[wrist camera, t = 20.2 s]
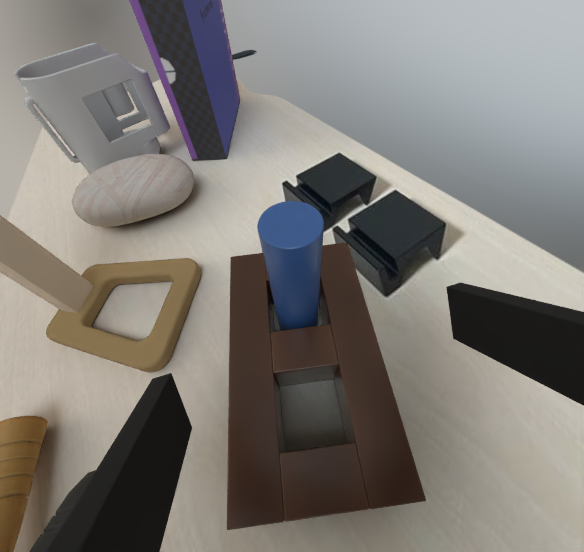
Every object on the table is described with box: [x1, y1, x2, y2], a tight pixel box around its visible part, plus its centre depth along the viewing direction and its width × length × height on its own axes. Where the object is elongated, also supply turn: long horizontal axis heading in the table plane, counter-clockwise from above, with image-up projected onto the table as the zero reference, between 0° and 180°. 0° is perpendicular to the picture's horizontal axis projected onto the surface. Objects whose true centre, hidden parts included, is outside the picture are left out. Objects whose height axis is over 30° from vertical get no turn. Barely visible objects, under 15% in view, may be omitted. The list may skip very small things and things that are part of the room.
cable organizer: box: [14, 43, 170, 174], centre depth 33 cm, size 7×12×12 cm, turn 136°
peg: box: [258, 201, 324, 331], centre depth 18 cm, size 3×3×12 cm
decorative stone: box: [72, 154, 194, 227], centre depth 30 cm, size 13×9×5 cm
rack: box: [227, 243, 426, 530], centre depth 19 cm, size 10×17×4 cm, turn 7°
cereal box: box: [129, 0, 240, 161], centre depth 32 cm, size 17×5×24 cm, turn 0°
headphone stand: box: [0, 216, 201, 372], centre depth 15 cm, size 10×11×22 cm
